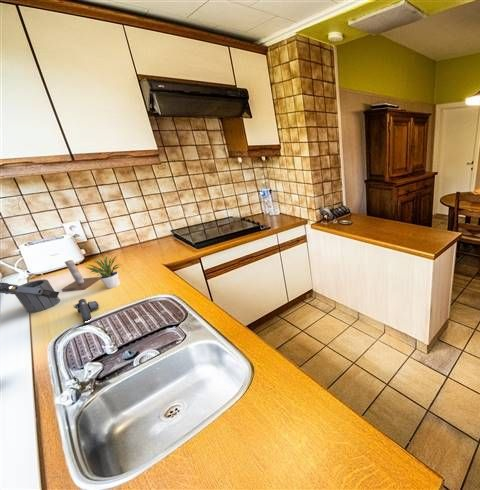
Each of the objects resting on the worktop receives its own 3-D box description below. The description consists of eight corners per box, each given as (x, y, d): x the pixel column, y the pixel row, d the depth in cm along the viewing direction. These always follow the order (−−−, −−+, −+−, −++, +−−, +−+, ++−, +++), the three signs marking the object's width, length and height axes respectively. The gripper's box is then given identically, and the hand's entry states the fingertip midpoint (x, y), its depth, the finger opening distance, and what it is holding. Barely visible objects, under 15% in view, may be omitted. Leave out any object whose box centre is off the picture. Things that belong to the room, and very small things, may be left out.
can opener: (78, 310, 116) (71, 300, 114) (99, 303, 121) (93, 293, 118) (76, 329, 104) (69, 318, 102) (100, 321, 109) (94, 309, 106)
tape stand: (62, 291, 132) (47, 267, 126) (79, 281, 141) (66, 257, 135) (85, 289, 133) (71, 264, 127) (100, 279, 142) (88, 255, 136)
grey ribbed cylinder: (20, 314, 116) (5, 293, 111) (42, 300, 125) (29, 280, 120) (46, 311, 117) (32, 290, 113) (66, 298, 126) (53, 278, 122)
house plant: (127, 274, 145) (114, 247, 138) (138, 280, 138) (125, 252, 132) (93, 287, 134) (77, 258, 127) (103, 294, 127) (87, 264, 121)
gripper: (-55, 293, 102) (21, 302, 122) (-5, 294, 99) (64, 303, 119) (-43, 274, 104) (29, 286, 125) (5, 275, 101) (71, 287, 122)
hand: (46, 294), depth 122 cm, fingers open, 11 cm apart
